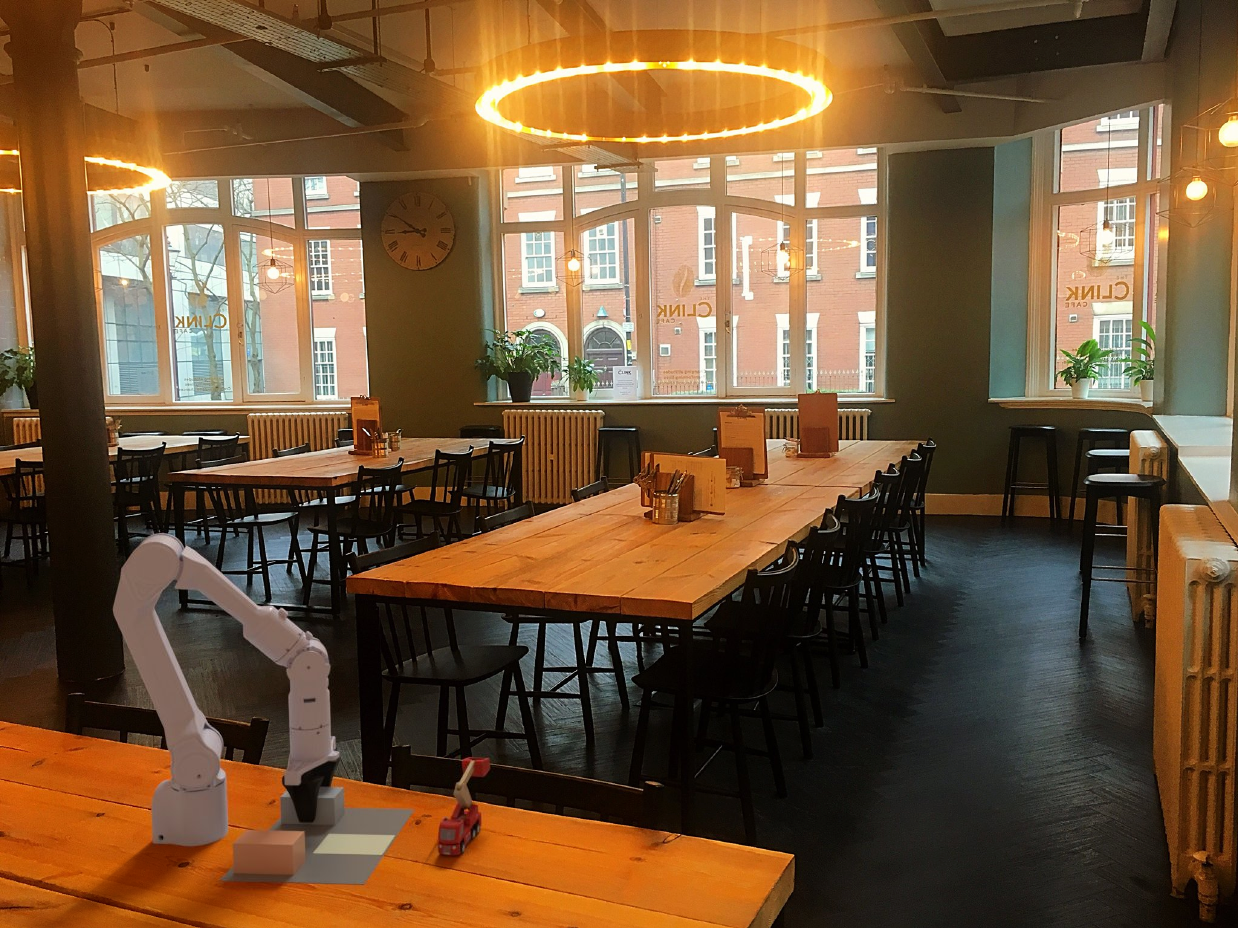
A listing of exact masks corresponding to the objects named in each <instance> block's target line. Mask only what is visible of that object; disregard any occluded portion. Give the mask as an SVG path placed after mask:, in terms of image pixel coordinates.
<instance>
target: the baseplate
mask: <svg viewBox="0 0 1238 928" xmlns="http://www.w3.org/2000/svg"><path fill="white" fill-rule="evenodd" d="M344 808H345V814H344V815H343V816H342V817H341V818H340V820H339V821H338V822H337V823H336V824H335V825H312V824H281V817H279V818H278V819H277V821H276V822H274V824H273V825H272V826H270V828H269V829H267V830H268V831H305V859H306V860H305V862H304V863H303V864H302V865H301V867H300V868H299V869H298V870H297V871H296V873H295V874H294V875H282V874H243V873H234V866H233V865H232V867H231V868H229V870H228V871H227V872H226V873H225V874H224V875H223V876H221V878H220V879H219V882H248V883H249V882H250V883H251V882H252V883H255V882H256V883H287V884H324V885H357V886H358V885H360V886H363V885H364V886H365V884H366V883H367V881H368V879H369V878H370V876H371V875H372V874H373V872H374V871H375V869H376V868H377V866H378V865H379V863H380V862H381V860H382V858H383V857H385V854H386V852H388V849H390V847H391V845H392V844H393V842H394V841H395V840H396V838H397V837H398V835H399V834H400V832H401V831H402V829H403V828H404V826H405V825H406V823H407V822H408V820H409V819H410V817H411V816H412V814H413V812H415V808H414V809H413V808H376V807H375V808H372V807H344Z"/></svg>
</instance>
